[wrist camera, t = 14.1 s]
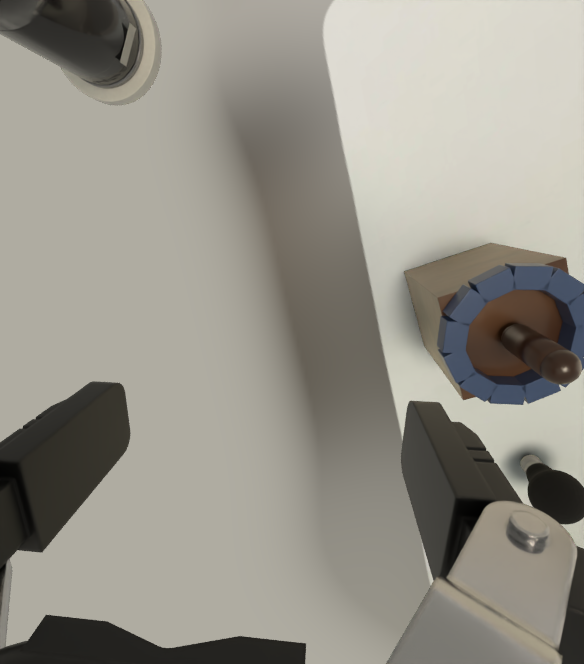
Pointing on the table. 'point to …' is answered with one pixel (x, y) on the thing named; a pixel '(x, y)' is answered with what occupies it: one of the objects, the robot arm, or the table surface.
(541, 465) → the light bulb
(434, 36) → the table surface
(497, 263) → the stand
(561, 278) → the ring
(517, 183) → the table surface
